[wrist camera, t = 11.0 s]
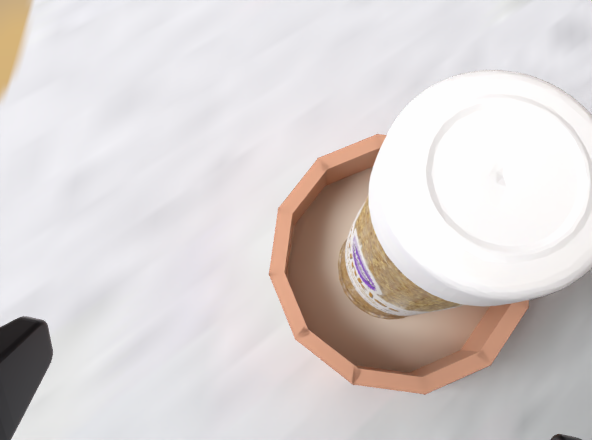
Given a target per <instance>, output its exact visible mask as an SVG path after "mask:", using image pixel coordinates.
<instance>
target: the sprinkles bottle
mask: <svg viewBox="0 0 592 440" xmlns="http://www.w3.org/2000/svg"><path fill="white" fill-rule="evenodd" d="M590 269H592V115H591V114H590V113H589V112H588V110H587V109H586V108H585V107H584V106H582V105H581V104H580V103H579V102H578V101H576V100H575V99H574V98H573V97H572V96H570V95H569V94H567V93H566V92H564V91H563V90H561V89H560V88H558V87H556V86H554V85H552V84H550V83H548V82H546V81H543V80H541V79H539V78H536V77H533V76H529V75H526V74H522V73H517V72H511V71H503V70H480V71H473V72H468V73H463V74H459V75H456V76H452V77H450V78H447V79H445V80H442V81H440V82H438V83H436V84H434V85H432V86H431V87H429V88H428V89H426V90H424V91H423V92H422V93H420V94H419V95H418V96H417V97H416V98H414V99H413V100H412V101H411V102H410V103H409V104H408V105H407V106H406V107H405V108H404V109H403V110H402V112H401V113H400V114H399V116H398V117H397V118H396V120H395V121H394V123H393V125H392V127H391V128H390V130H389V132H388V134H387V136H386V138H385V140H384V142H383V144H382V146H381V148H380V150H379V152H378V155H377V157H376V160H375V163H374V165H373V169H372V172H371V176H370V182H369V195H368V197H367V199H366V201H365V203H364V204H363V206H362V207H361V209H360V210H359V212H358V214H357V216H356V218H355V221H354V222H353V225H352V227H351V229H350V232H349V235H348V238H347V239H346V241H345V242H344V244H343V245H342V247H341V250H340V253H339V260H338V272H339V280H340V283H341V286H342V288H343V290H344V293H345V294H346V295H347V297H348V298H349V299H350V301H352V302H353V304H354V305H355V306H356V307H358V308H359V309H361V310H362V311H364V312H365V313H367V314H369V315H371V316H373V317H377V318H382V319H400V318H405V317H407V316H411V315H417V314H423V313H429V312H435V311H441V310H446V309H451V308H456V307H460V306H462V305H472V306H483V307H484V306H498V305H505V304H511V303H517V302H522V301H526V300H531V299H535V298H538V297H542V296H546V295H548V294H551V293H554V292H557V291H559V290H561V289H563V288H565V287H567V286H569V285H570V284H572V283H574V282H575V281H577V280H578V279H579V278H581V277H582V276H584V275H585V274H586V273H587V272H588V271H589V270H590Z"/></svg>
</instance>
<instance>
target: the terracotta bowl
mask: <svg viewBox="0 0 592 440" xmlns="http://www.w3.org/2000/svg"><path fill="white" fill-rule="evenodd" d="M386 136H387V135H380V134H376V135H374V136H372V137H369V138H367V139H364V140H362V141H359V142H357V143H354V144H352V145H349V146H347V147H344V148H342V149H339V150H337V151H334V152H332V153H330V154H327V155H325V156H322V157H320V158H317V160H316V161H315V163H314V164H313V165H312V166H311V168H310V169H309V170H308V172H307V173H306V174H305V175H304V177H303V178H302V179H301V180H300V182H299V183H298V184H297V185H296V187H295V188H294V189H293V190H292V192H291V193H290V194H289V196H288V197H287V198H286V199H285V201H284V202H283V203H282V204H281V206H280V207H279V208H278V214H277V221H276V228H275V235H274V242H273V249H272V256H271V264H270V271H269V276H270V278H271V280H272V283H273V285H274V288H275V290H276V293H277V295H278V298H279V300H280V303H281V305H282V308H283V310H284V313H285V315H286V318H287V320H288V322H289V325H290V327H291V330H292V332H293V335H294V337H295V340H297V341H298V342H299V343H301V344H302V345H303V346H305V347H306V348H307V349H308V350H310V351H311V352H312V353H313V354H315V355H316V356H317V357H319V358H320V359H321V360H322V361H324V362H325V363H326V364H327V365H329V366H330V367H331V368H332V369H334V370H335V371H336V372H338V373H339V374H340V375H341V376H343V377H344V378H345V379H346V380H348V381H349V382H350V383H351V384H353V385H361V386H368V387H376V388H383V389H390V390H397V391H405V392H412V393H419V394H424V395H425V394H427V393H429V392H432V391H434V390H436V389H438V388H441V387H443V386H445V385H447V384H450V383H452V382H454V381H456V380H459V379H461V378H463V377H465V376H468V375H470V374H472V373H474V372H477V371H479V370H481V369H483V368H485V367H488V366H490V365H491V364H492V362H493V361H494V359H495V358H496V356H497V355H498V353H499V352H500V350H501V349H502V347H503V345H504V344H505V342H506V341H507V339H508V338H509V336H510V335H511V333H512V332H513V330H514V329H515V327H516V326H517V324H518V323H519V321H520V320H521V318H522V316H523V315H524V313H525V312H526V310H527V309H528V308H529V300H526V301H522V302H517V303H511V304H505V305H498V306H484V307H483V306H472V305H462V306H460V307H456V308H451V309H446V310H441V311H435V312H429V313H423V314H417V315H411V316H407V317H405V318H400V319H382V318H377V317H373V316H371V315H369V314H367V313H365V312H364V311H362V310H361V309H359V308H358V307H356V306H355V305H354V304H353V302H352V301H350V299H349V298H348V297H347V295H346V294H345V293H344V290H343V288H342V286H341V283H340V280H339V272H338V260H339V253H340V250H341V247H342V245H343V244H344V242H345V241H346V239H347V238H348V235H349V232H350V229H351V227H352V225H353V222H354V221H355V218H356V216H357V214H358V212H359V210H360V209H361V207H362V206H363V204H364V203H365V201H366V199H367V197H368V195H369V182H370V176H371V172H372V169H373V165H374V163H375V160H376V157H377V155H378V152H379V150H380V148H381V146H382V144H383V142H384V140H385V138H386Z"/></svg>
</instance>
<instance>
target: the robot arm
mask: <svg viewBox="0 0 592 440" xmlns="http://www.w3.org/2000/svg"><path fill="white" fill-rule="evenodd" d="M52 356H53V349H52V344H51V339H50V334H49V329H48V325H47V323H46V322H45V321H44V320H41V319H36V318H32V317H27V316H23V317H19V318H17V319H15V320H13V321H11V322H9V323H7V324H6V325H4V326H2V327H0V440H11V438H12V436H13V435H14V433H15V431H16V429H17V427H18V425H19V423H20V421H21V419H22V418H23V416H24V414H25V412H26V410H27V408H28V406H29V404H30V402H31V400H32V398H33V396H34V394H35V392H36V390H37V388H38V387H39V385H40V383H41V381H42V379H43V377H44V375H45V373H46V371H47V369H48V367H49V365H50V363H51V360H52ZM551 440H582V439H579V438H576V437H572V436H567V435H563V434H557V435H554V436H553V437H552V438H551Z"/></svg>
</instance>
